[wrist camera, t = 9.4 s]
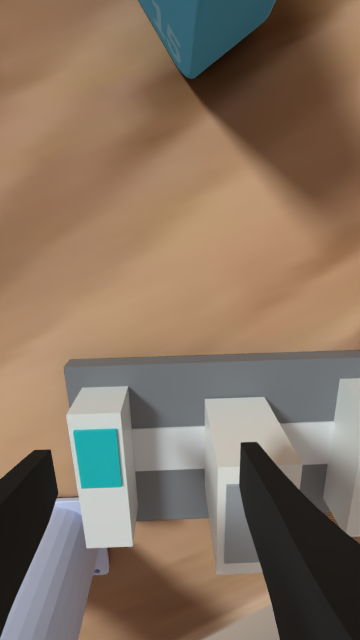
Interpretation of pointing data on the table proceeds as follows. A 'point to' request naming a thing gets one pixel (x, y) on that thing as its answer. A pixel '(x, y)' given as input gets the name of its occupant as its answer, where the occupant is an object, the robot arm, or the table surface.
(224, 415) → the block
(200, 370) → the rail board
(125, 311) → the table surface
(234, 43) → the data package
